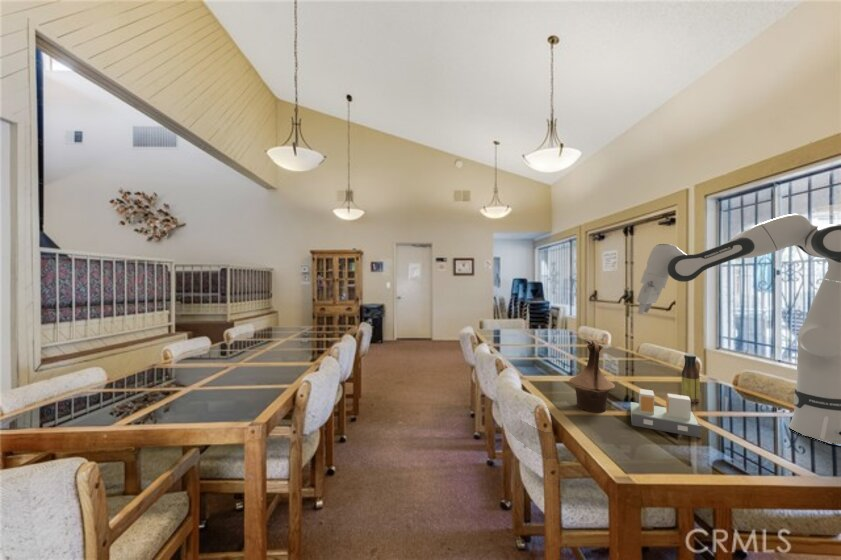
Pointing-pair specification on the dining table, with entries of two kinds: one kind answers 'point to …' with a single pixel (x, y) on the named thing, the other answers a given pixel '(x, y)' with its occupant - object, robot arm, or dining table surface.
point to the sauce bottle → (690, 379)
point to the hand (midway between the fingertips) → (642, 312)
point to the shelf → (664, 421)
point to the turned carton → (678, 406)
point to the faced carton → (646, 401)
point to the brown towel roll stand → (592, 382)
